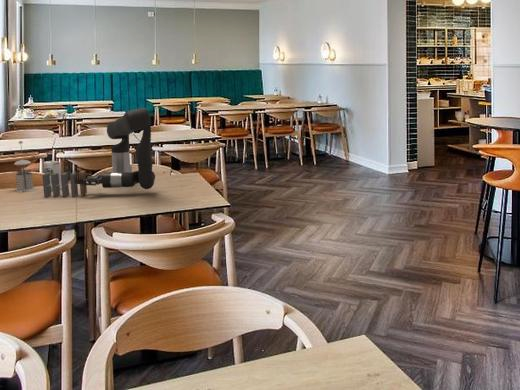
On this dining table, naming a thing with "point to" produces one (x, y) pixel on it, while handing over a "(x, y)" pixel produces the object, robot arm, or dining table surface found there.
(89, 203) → the dining table surface
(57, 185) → the charcoal tile
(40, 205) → the dining table surface
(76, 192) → the charcoal tile
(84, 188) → the walnut tile
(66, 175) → the charcoal tile
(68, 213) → the dining table surface
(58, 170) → the syrup box
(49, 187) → the charcoal tile
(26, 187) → the french press
